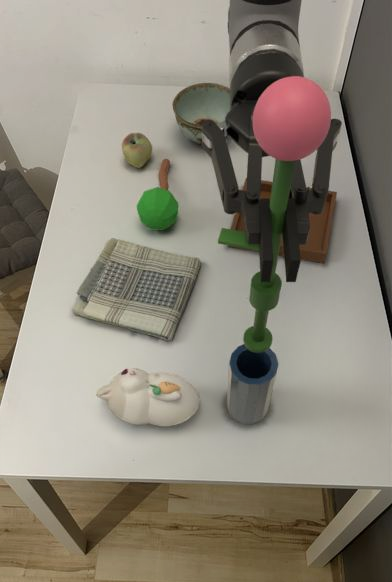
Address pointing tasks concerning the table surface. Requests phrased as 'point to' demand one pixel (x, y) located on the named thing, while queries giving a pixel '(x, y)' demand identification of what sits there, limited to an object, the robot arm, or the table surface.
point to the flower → (280, 177)
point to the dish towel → (138, 288)
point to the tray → (318, 227)
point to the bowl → (200, 107)
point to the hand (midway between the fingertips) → (280, 271)
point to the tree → (158, 203)
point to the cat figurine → (150, 397)
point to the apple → (136, 149)
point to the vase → (250, 384)
